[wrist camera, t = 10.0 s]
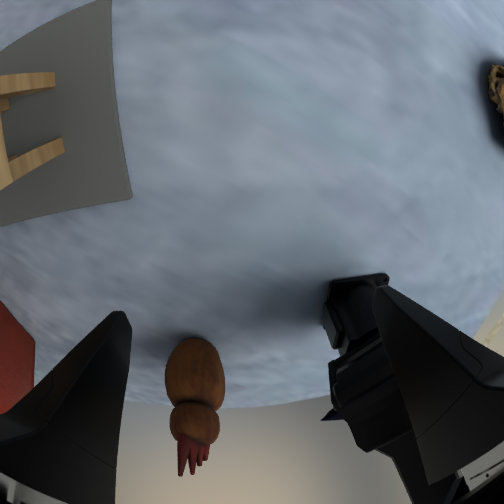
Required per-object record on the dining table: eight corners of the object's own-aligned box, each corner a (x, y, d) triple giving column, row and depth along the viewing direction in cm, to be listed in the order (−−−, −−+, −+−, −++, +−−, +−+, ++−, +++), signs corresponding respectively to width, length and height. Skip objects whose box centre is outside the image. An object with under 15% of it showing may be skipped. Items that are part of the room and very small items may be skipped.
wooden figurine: (162, 332, 27) (146, 470, 15) (215, 326, 27) (219, 472, 15) (182, 367, 31) (177, 484, 18) (228, 363, 31) (236, 484, 18)
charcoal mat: (111, -2, 11) (108, -4, 10) (132, 196, 19) (130, 199, 19) (-28, 76, 10) (-32, 76, 9) (0, 224, 18) (-3, 227, 18)
